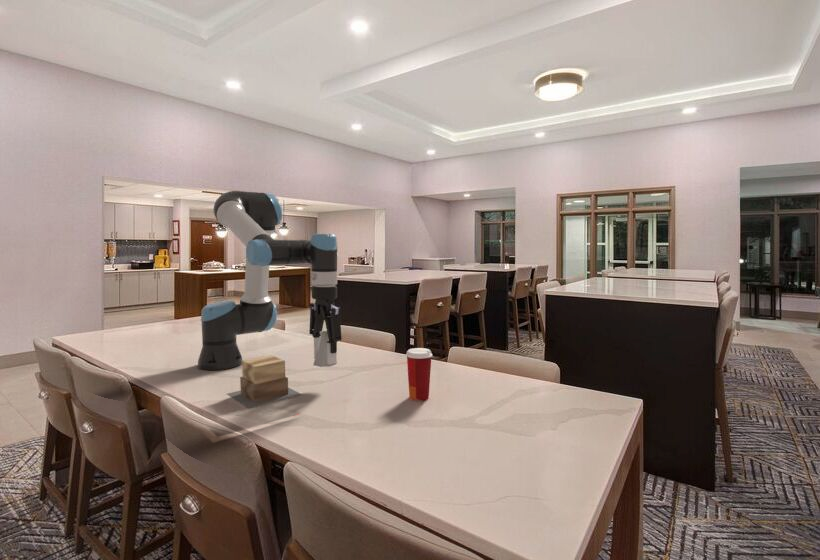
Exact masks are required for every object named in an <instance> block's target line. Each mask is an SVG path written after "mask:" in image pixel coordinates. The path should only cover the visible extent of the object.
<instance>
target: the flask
mask: <svg viewBox="0 0 820 560" xmlns="http://www.w3.org/2000/svg"><path fill="white" fill-rule="evenodd" d="M320 335H321V336H320V337H321V340H320V346H319V349H318V352H317V355H316V358H315V359H314V361H313V366H315V367H321V368H323V367H324V368H325V367H333V366H335V365H337V363H338V362H337V363H333V364H327V341H329V339H328V334H327V330H322V331H321V332H320Z"/></svg>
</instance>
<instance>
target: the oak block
mask: <svg viewBox="0 0 820 560" xmlns="http://www.w3.org/2000/svg"><path fill="white" fill-rule="evenodd" d="M241 369H242V372H241V373H242V374H241V375H242V377H243V378H245V379H247V380H248V381H250V382H252V383H254V384H259V383H264V382H268V381H273V380H277V379H282V378H285V377H286V360H284V359H282V358H279V357H276V356H274V355H271V354H270V355H265V356H264V355H263V356H260V357H254V358H248V359H242V364H241Z"/></svg>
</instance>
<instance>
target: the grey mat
mask: <svg viewBox="0 0 820 560" xmlns="http://www.w3.org/2000/svg"><path fill="white" fill-rule="evenodd" d="M226 395H227V396H229V397H231V398H232V399H233V400H235V401H236V402H237V403H239V404H241V405H242V406H244V407H245V408H247V409H252V408H257V407H260V406H265V405H268V404H272V403H275V402H281V401H284V400H287V399H288V400H289V399H292V398H296V397H300V396H303V394H302V393H301V392H298V391H296V390H294V389H292V388H290V387H289V386H288V395H284V396H280V397H276V398H272V399H268V400H264V401H260V402H256V403H254V402H253V401H251V400H250V399H248V398H247V397H245V396H243V395H242V394H241V390H236V391H233V392H228V393H226Z"/></svg>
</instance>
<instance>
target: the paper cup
mask: <svg viewBox="0 0 820 560" xmlns="http://www.w3.org/2000/svg"><path fill="white" fill-rule="evenodd" d="M405 356H406V360H407V377H408V378H407V380H408V381H407V382H408V392H409V393H408V394H409V399H410V400H411V401H415V402H424V401H427V400H428V399H429V397H430V384H431V383H430V382H431V370H432V369H431V368H432V357H433V353H432V351H431V349H429V348H424V347H414V348H413V347H412V348H409V349H408V350H407V351H406V354H405Z"/></svg>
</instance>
